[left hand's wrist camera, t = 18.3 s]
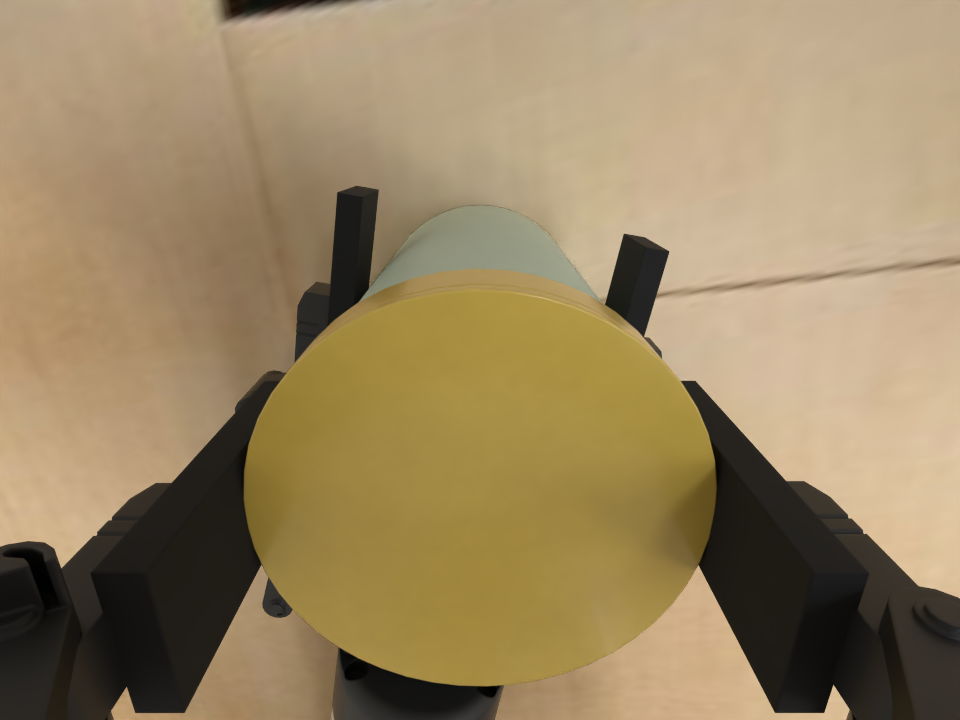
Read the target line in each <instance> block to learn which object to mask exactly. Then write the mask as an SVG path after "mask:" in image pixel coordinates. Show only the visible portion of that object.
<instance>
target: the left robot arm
mask: <svg viewBox="0 0 960 720" xmlns="http://www.w3.org/2000/svg"><path fill="white" fill-rule="evenodd" d="M279 382H280V381H264V382H263V383H262V384H261V385H260V386H259V387H258V388H257V390H256V391H255V392H254V393H253V394H252V395H251V396H250V397H249V398H248V399H247V401H246V402H245V403H244V404H243V405H242V406H241V407H240V408H239V409H238V411H237V412H236V413H235V414H234V415H233V416H232V417H231V418H230V419H229V420H228V422H227V423H226V424H225V425H224V426H223V427H222V428H221V429H220V430H219V431H218V433H217V434H216V435H215V436H214V437H213V438H212V439H211V440H210V441H209V443H208V444H207V445H206V446H205V447H204V448H203V449H202V450H201V451H200V452H199V454H198V455H197V456H196V457H195V458H194V459H193V460H192V461H191V462H190V464H189V465H188V466H187V467H186V468H185V469H184V470H183V471H182V472H181V473H180V475H179V476H178V477H177V478H176V479H175V480H174V481H173V482H172V483H155V484H154V485H152V486H150V487H149V488H147V489H145V490H144V491H142V492H140V493H139V494H137V495H135V496H134V497H132V498H130V499H129V500H128V501H127V502H126V503H125V504H124V505H123V506H122V507H121V509H120V510H119V511H118V512H117V513H116V514H115V515H114V516H113V517H112V521H108V522H107V523H106V524H105V525H104V526H103V527H102V528H101V529H100V530H99V531H98V532H97V536H93V537H92V538H91V539H90V540H89V541H88V542H87V543H86V544H85V545H84V546H83V547H82V548H81V549H80V550H79V551H78V552H77V553H76V554H75V555H74V556H73V557H72V558H71V559H70V560H69V561H68V562H67V563H66V564H65V565H64V566H63V568H62V569H61V567H60V564H59V561H58V558H57V555H56V552H55V550H54V548H52V547H51V546H49V545H48V544H46V543H42V542H31V541H27V542H21V543H14V544H8V545H4V546H1V547H0V720H114V719H113V716H112V713H111V710H112V708H113V707H114V705H115V704H116V702H117V701H118V699H119V698H120V696H121V694H122V693H123V691H124V690H125V688H126V687H127V688H128V691H129V695H130V698H131V701H132V704H133V707H134V710H135V713H185V711H186V709H187V707H188V705H189V703H190V701H191V699H192V697H193V696H194V694H195V692H196V690H197V688H198V686H199V684H200V682H201V680H202V678H203V676H204V674H205V672H206V670H207V668H208V667H209V665H210V663H211V661H212V659H213V657H214V655H215V653H216V651H217V649H218V647H219V645H220V643H221V641H222V640H223V638H224V636H225V634H226V632H227V630H228V628H229V626H230V624H231V622H232V620H233V618H234V616H235V614H236V612H237V611H238V609H239V607H240V605H241V603H242V601H243V599H244V597H245V595H246V593H247V591H248V589H249V587H250V585H251V584H252V582H253V580H254V578H255V576H256V574H257V572H258V570H259V568H260V566H261V562H260V560H259V557H258V555H257V553H256V551H255V549H254V546H253V542H252V539H251V536H250V532H249V528H248V523H247V517H246V512H245V506H244V499H243V491H244V467H245V462H246V456H247V451H248V445H249V442H250V439H251V436H252V433H253V431H254V428H255V425H256V422H257V419H258V417H259V415H260V413H261V411H262V410H263V408H264V406H265V404H266V402H267V400H268V398H269V397H270V395H271V393H272V392H273V390H274V389H275V388H276V386H277V385H278V384H279ZM681 382H682V384H683V385H684V387H685V389H686V390H687V392H688V393H689V395H690V397H691V398H692V400H693V401H694V403H695V405H696V406H697V408H698V410H699V413H700V415H701V417H702V420H703V422H704V424H705V427H706V429H707V431H708V434H709V438H710V442H711V446H712V450H713V454H714V458H715V467H716V479H717V496H716V504H715V510H714V516H713V521H712V526H711V531H710V536H709V540H708V543H707V545H706V548H705V551H704V553H703V556H702V558H701V561H700V563H699V567H700V569H701V571H702V573H703V575H704V576H705V578H706V580H707V582H708V584H709V586H710V588H711V590H712V592H713V594H714V596H715V598H716V600H717V602H718V604H719V605H720V607H721V609H722V611H723V613H724V615H725V617H726V619H727V621H728V623H729V625H730V627H731V629H732V631H733V632H734V634H735V636H736V638H737V640H738V642H739V644H740V646H741V648H742V650H743V652H744V654H745V656H746V658H747V660H748V661H749V663H750V665H751V667H752V669H753V671H754V673H755V675H756V677H757V679H758V681H759V683H760V685H761V687H762V688H763V690H764V692H765V694H766V696H767V698H768V700H769V702H770V704H771V706H772V708H773V710H774V712H775V713H824V712H825V709H826V706H827V703H828V699H829V696H830V693H831V690H832V687H833V684H834V686H835V687H836V689H837V691H838V692H839V694H840V695H841V697H842V698H843V700H844V701H845V703H846V704H847V706H848V707H849V709H850V711H849V713H848V716H847V719H846V720H960V599H959V598H958V597H955V596H952V595H949V594H947V593H944V592H941V591H939V590H936V589H930V588H925V587H919V586H918V585H917V584H916V583H915V582H914V581H913V580H912V579H911V578H910V577H909V576H908V575H907V574H906V573H905V572H904V571H903V570H902V569H901V568H900V567H899V566H898V565H897V564H896V563H895V562H894V561H893V560H892V559H891V558H890V557H889V556H888V555H887V554H886V553H885V552H884V551H883V550H882V549H881V548H880V547H879V546H878V545H877V544H876V543H875V542H874V541H873V540H872V539H871V538H870V537H869V536H868V535H867V534H863V530H862V529H861V528H860V527H859V526H858V525H857V524H856V523H855V522H854V521H853V520H852V519H849V518H848V515H847V514H846V513H845V512H844V511H843V510H842V509H841V508H840V506H839V505H838V504H837V503H836V502H835V501H834V500H833V499H832V498H831V497H829V496H828V495H826V494H824V493H823V492H821V491H819V490H818V489H816V488H814V487H813V486H811V485H809V484H808V483H806V482H804V481H785V479H784V478H783V477H782V476H781V475H780V474H779V473H778V472H777V471H776V469H775V468H774V467H773V466H772V465H771V464H770V463H769V462H768V461H767V460H766V458H765V457H764V456H763V455H762V454H761V453H760V452H759V451H758V450H757V448H756V447H755V446H754V445H753V444H752V443H751V442H750V441H749V440H748V439H747V437H746V436H745V435H744V434H743V433H742V432H741V431H740V430H739V429H738V428H737V426H736V425H735V424H734V423H733V422H732V421H731V420H730V419H729V418H728V416H727V415H726V414H725V413H724V412H723V411H722V410H721V409H720V408H719V407H718V405H717V404H716V403H715V402H714V401H713V400H712V399H711V398H710V397H709V395H708V394H707V393H706V392H705V391H704V390H703V389H702V388H701V387H700V386H699V384H698V383H697V382H696V381H681Z"/></svg>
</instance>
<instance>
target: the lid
mask: <svg viewBox="0 0 960 720" xmlns="http://www.w3.org/2000/svg"><path fill="white" fill-rule="evenodd" d="M716 496H717V479H716V467H715V458H714V454H713V450H712V446H711V442H710V438H709V434H708V431H707V429H706V427H705V424H704V422H703V420H702V417H701V415H700V413H699V410H698V408H697V406H696V405H695V403H694V401H693V400H692V398H691V397H690V395H689V393H688V392H687V390H686V389H685V387H684V385H683V384H682V382H681V381H680V380H679V379H678V378H677V376H676V375H675V374H674V373H673V372H672V370H671V369H670V368H669V367H668V366H667V365H666V363H665V362H664V361H663V360H662V359H661V357H660V356H659V355H658V354H657V353H656V351H655V350H654V349H653V348H652V347H651V346H650V345H649V343H648V342H647V341H646V340H645V339H644V338H643V336H642V335H641V334H640V333H639V332H638V331H637V330H636V329H635V328H634V327H633V326H632V325H630V324H629V323H628V322H627V321H626V320H625V319H623V318H622V317H621V316H620V315H619V314H618V313H616V312H615V311H613V310H612V309H610V308H609V307H607V306H606V305H604V304H603V303H601V302H599V301H598V300H596V299H595V298H593V297H592V296H589V295H587V294H585V293H583V292H581V291H579V290H576V289H574V288H572V287H570V286H568V285H566V284H563V283H560V282H557V281H553V280H550V279H547V278H544V277H540V276H537V275H533V274H527V273H521V272H515V271H509V270H497V269H464V270H453V271H442V272H438V273H434V274H429V275H425V276H420V277H416V278H412V279H409V280H407V281H404V282H401V283H398V284H396V285H393V286H390V287H388V288H385V289H383V290H381V291H379V292H377V293H375V294H373V295H372V296H370V297H368V298H366V299H364V300H362V301H360V302H358V303H357V304H356V305H354V306H353V307H351V308H350V309H349V310H347V311H346V312H345V313H343V314H342V315H340V316H339V317H338V318H336V319H335V320H334V321H333V322H332V323H331V324H330V325H329V326H328V327H327V328H326V329H325V330H324V331H323V332H322V333H321V334H320V335H318V336H317V337H316V338H315V339H314V341H313V342H312V343H311V344H310V345H309V347H308V348H307V349H306V350H305V351H304V353H303V354H302V355H301V356H300V357H299V358H298V360H297V361H296V362H295V363H294V364H293V366H292V367H291V368H290V369H289V371H288V372H287V373H286V374H285V376H284V377H283V378H282V380H281V381H280V382H279V384H278V385H277V386H276V388H275V389H274V390H273V392H272V393H271V395H270V397H269V398H268V400H267V402H266V404H265V406H264V408H263V410H262V411H261V413H260V415H259V417H258V419H257V422H256V425H255V428H254V431H253V433H252V436H251V439H250V442H249V445H248V451H247V456H246V462H245V467H244V491H243V499H244V506H245V512H246V517H247V523H248V528H249V532H250V536H251V539H252V542H253V546H254V549H255V551H256V553H257V555H258V557H259V560H260V562H261V564H262V566H263V568H264V570H265V572H266V574H267V575H268V577H269V578H270V580H271V581H272V583H273V585H274V586H275V588H276V589H277V591H278V592H279V594H280V595H281V596H282V597H283V598H284V600H285V601H286V602H287V603H288V604H289V605H290V607H291V608H292V609H293V610H294V611H295V612H296V613H297V614H298V615H299V616H300V617H301V618H302V619H303V620H304V621H305V622H306V623H307V624H309V625H310V626H311V627H312V628H313V629H314V630H315V631H317V632H318V633H319V634H321V635H322V636H323V637H325V638H326V639H328V640H329V641H330V642H332V643H333V644H335V645H336V646H338V647H340V648H341V649H343V650H345V651H347V652H348V653H350V654H352V655H354V656H355V657H357V658H359V659H361V660H364V661H366V662H368V663H370V664H373V665H375V666H377V667H380V668H382V669H385V670H388V671H391V672H394V673H397V674H400V675H403V676H406V677H411V678H415V679H420V680H424V681H429V682H434V683H442V684H450V685H459V686H497V685H512V684H518V683H524V682H531V681H537V680H541V679H545V678H549V677H553V676H556V675H560V674H564V673H567V672H569V671H572V670H575V669H577V668H580V667H583V666H585V665H588V664H590V663H592V662H594V661H596V660H598V659H600V658H602V657H604V656H606V655H608V654H610V653H612V652H614V651H616V650H617V649H619V648H620V647H622V646H623V645H625V644H627V643H628V642H630V641H631V640H633V639H634V638H636V637H637V636H638V635H639V634H641V633H642V632H643V631H644V630H646V629H647V628H648V627H649V626H651V625H652V624H653V623H654V622H655V621H656V620H657V619H658V618H659V617H660V616H661V615H662V614H663V613H664V612H665V611H666V610H667V609H668V608H669V607H670V606H671V605H672V604H673V602H674V601H675V600H676V598H677V597H678V596H679V594H680V593H681V592H682V591H683V589H684V588H685V587H686V585H687V584H688V582H689V580H690V579H691V577H692V575H693V573H694V572H695V570H696V568H697V566H698V565H699V563H700V561H701V558H702V556H703V553H704V551H705V548H706V545H707V543H708V540H709V536H710V531H711V526H712V521H713V516H714V510H715V504H716Z"/></svg>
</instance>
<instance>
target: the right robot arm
mask: <svg viewBox="0 0 960 720" xmlns="http://www.w3.org/2000/svg"><path fill="white" fill-rule="evenodd" d="M378 192H379V190H377V189H371V188H366V187H360V186H355V187H352V188H349V189H346V190H343V191H340V192H338V193H337V206H336V219H335V232H334V245H333V258H332V271H331V284H326V283H320V282H316V283H315V284H314V285H313V286H311V287H310V288H309V289H308V290H307V291H305V293H304V295H303V297H302V299H301V300H300V302H299V304H298V312H297V330H296V332H297V335H296V348H295V362H296V361H297V360H298V358H299V357H300V356H301V355H302V354H303V353H304V351H305V350H306V349H307V348H308V347H309V345H310V344H311V343H312V342H313V341H314V339H315V338H316V337H317V336H318V335H320V334H321V333H322V332H323V331H324V330H325V329H326V328H327V327H328V326H329V325H330V324H331V323H332V322H333V321H334V320H335V319H336V318H338V317H339V316H340V315H342V314H343V313H345V312H346V311H347V310H349V309H350V308H351V307H353V306H354V305H356V304H357V303H358V302H359V301H360V300H361V299H362V297H363V296H364V295H365V293H366V292H367V291H368V289H369V280H370V270H371V260H372V250H373V241H374V231H375V221H376V211H377V201H378ZM668 254H669V251H668V250H666V249H664V248H662V247H661V246H659V245H657V244H655V243H654V242H652V241H650V240H648V239H647V238H645V237H639V236H634V235H628V234H624V236H623V239H622V243H621V247H620V251H619V254H618V258H617V262H616V266H615V269H614V273H613V277H612V281H611V285H610V288H609V292H608V296H607V300H606V303H605V305H606V306H607V307H609V308H610V309H612V310H613V311H615V312H616V313H618V314H619V315H620V316H621V317H622V318H623V319H625V320H626V321H627V322H628V323H629V324H630V325H632V326H633V327H634V328H635V329H636V330H637V331H638V332H639V333H640V334H641V335H642V336H643V338H644V339H645V340H646V341H647V342H648V343H649V345H650V346H651V347H652V348H653V349H654V350H655V351H656V353H657V354H658V355H659V356H660V357H661V359H662V354H661V351H660V350H659V348H658V347H657V346H656V345H655V344H654V343H653V341H652V340H651V339H650V338H647V337H644V335H645V331H646V328H647V325H648V321H649V318H650V315H651V311H652V308H653V305H654V301H655V298H656V295H657V291H658V288H659V285H660V281H661V278H662V274H663V271H664V268H665V264H666V261H667V258H668ZM285 374H286V373H282V372H280V371H270V372H267V373H266V374H264V375H263V376H262V377H261V378H260V379H259V381H258V382H257V383H256V384H255V385H254V386H253V387H252V388H251V389H250V390H249V391H248V392H247V393H246V394H245V396H244V397H243V398H242V399H241V400H240V401H239V402H238V403H237V405H236V407H235V413H236V412H237V411H238V409H239V408H240V407H241V406H242V405H243V404H244V403H245V402H246V401H247V399H248V398H249V397H250V396H251V395H252V394H253V393H254V392H255V391H256V390H257V388H258V387H259V386H260V385H261V384H262V383H263V382H264V381H281V380H282V378H283V377H284V376H285ZM263 609H264V611H265V612H266V613H267V614H269V615H270V616H273V617H278V618H282V617H286V616H288V615H289V614H290V613H291V611H292V608H291V607H290V605H289V604H288V603H287V602H286V601H285V600H284V598H283V597H282V596H281V595H280V594H279V592H278V591H277V589H276V588H275V586H274V585H273V583H272V581H271V580H270V578H268V582H267V586H266V590H265V595H264V599H263ZM503 686H504V685H497V686H459V685H450V684H442V683H434V682H429V681H424V680H420V679H415V678H411V677H406V676H403V675H400V674H397V673H394V672H391V671H388V670H385V669H382V668H380V667H377V666H375V665H373V664H370V663H368V662H366V661H364V660H361V659H359V658H357V657H355V656H354V655H352V654H350V653H348V652H347V651H345V650H343V649H341V648H340V647H338V656H337V665H336V675H335V684H334V693H333V708H332V712H331V719H330V720H495V716H496V713H497V709H498V705H499V701H500V697H501V694H502V690H503Z"/></svg>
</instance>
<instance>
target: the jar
mask: <svg viewBox="0 0 960 720" xmlns="http://www.w3.org/2000/svg"><path fill="white" fill-rule="evenodd" d="M464 269H497V270H509V271H515V272H521V273H527V274H533V275H537V276H540V277H544V278H547V279H550V280H553V281H557V282H560V283H563V284H566V285H568V286H570V287H572V288H574V289H576V290H579V291H581V292H583V293H585V294H587V295H589V296H592V297H593V298H595V299H596V300H598V301H599V302H601V301H600V300H599V298H598V297H597V296H596V294H595V293H594V292H593V291H592V289H591V288H590V287H589V285H588V284H587V283H586V281H585V280H584V279H583V278H582V276H581V275H580V274H579V272H578V271H577V270H576V268H575V267H574V266H573V264H572V263H571V262H570V261H569V259H568V258H567V257H566V255H565V254H564V253H563V251H562V250H561V249H560V247H559V246H558V245H557V244H556V242H555V241H554V240H553V239H552V238H551V236H550V235H549V234H548V233H547V232H546V231H545V230H544V229H542V228H541V227H540V226H539V225H538V224H536V223H535V222H533V221H532V220H530V219H529V218H527V217H525V216H523V215H521V214H519V213H517V212H514V211H511V210H508V209H505V208H500V207H495V206H485V205H475V206H465V207H460V208H455V209H452V210H449V211H446V212H443V213H441V214H439V215H437V216H435V217H433V218H431V219H429V220H428V221H427V222H425V223H424V224H422V225H421V226H420V227H418V228H417V229H416V230H415V231H414V232H413V233H412V234H411V235H410V236H409V237H408V239H407V240H406V241H405V242H404V244H403V245H402V246H401V247H400V249H399V250H398V251H397V253H396V254H395V255H394V257H393V258H392V259H391V261H390V262H389V263H388V264H387V266H386V267H385V268H384V270H383V271H382V272H381V274H380V275H379V276H378V278H377V279H376V280H375V282H374V283H373V284H372V285H371V287H370V288H369V289H368V291H367V292H366V293H365V295H364V296H363V297H362V299H361V300H360V301H362V300H364V299H366V298H368V297H370V296H372V295H373V294H375V293H377V292H379V291H381V290H383V289H385V288H388V287H390V286H393V285H396V284H398V283H401V282H404V281H407V280H409V279H412V278H416V277H420V276H425V275H429V274H434V273H438V272H442V271H453V270H464ZM360 301H359V302H360ZM601 303H602V302H601Z"/></svg>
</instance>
